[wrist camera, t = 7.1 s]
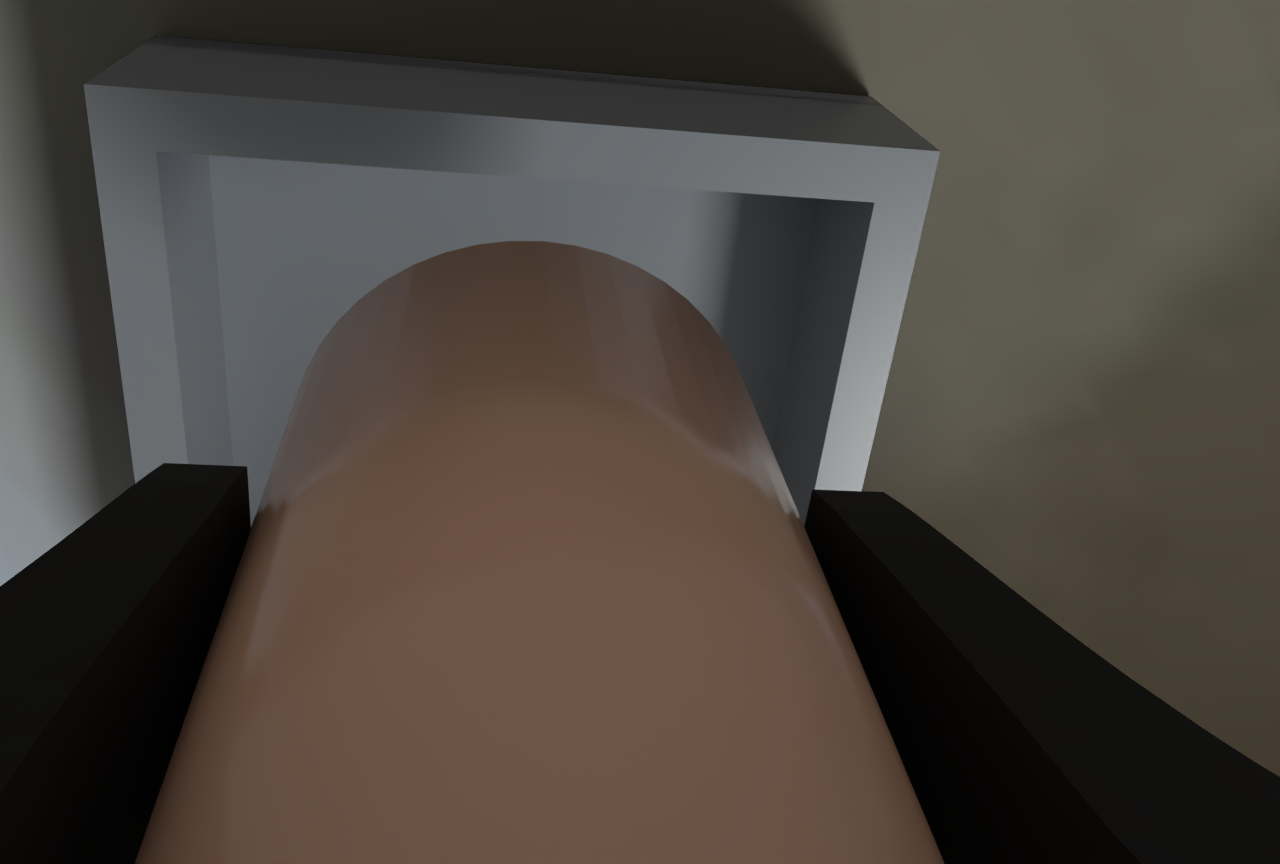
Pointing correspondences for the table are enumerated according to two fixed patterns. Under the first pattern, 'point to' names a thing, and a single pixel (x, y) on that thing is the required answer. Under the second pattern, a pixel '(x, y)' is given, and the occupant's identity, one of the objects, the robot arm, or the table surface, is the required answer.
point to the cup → (530, 604)
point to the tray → (488, 225)
